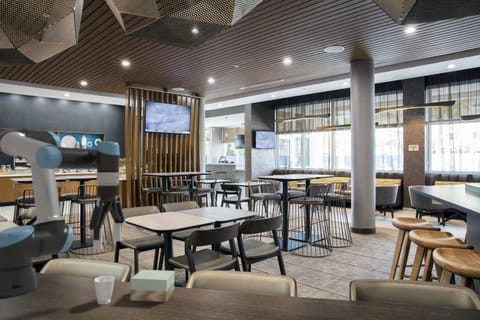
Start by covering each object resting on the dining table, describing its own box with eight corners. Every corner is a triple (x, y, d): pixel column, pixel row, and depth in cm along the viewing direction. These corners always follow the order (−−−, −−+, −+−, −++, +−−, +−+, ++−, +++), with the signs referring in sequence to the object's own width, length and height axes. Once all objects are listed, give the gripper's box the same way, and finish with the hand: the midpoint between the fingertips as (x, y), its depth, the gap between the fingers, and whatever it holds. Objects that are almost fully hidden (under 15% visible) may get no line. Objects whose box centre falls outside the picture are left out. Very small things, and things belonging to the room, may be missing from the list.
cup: (89, 305, 111) (89, 281, 111) (102, 294, 121) (102, 272, 121) (109, 306, 110) (110, 282, 111) (121, 294, 120) (121, 272, 121)
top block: (130, 289, 116) (131, 278, 116) (141, 280, 126) (141, 269, 126) (166, 291, 115) (166, 279, 115) (174, 281, 125) (174, 271, 125)
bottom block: (130, 301, 116) (130, 289, 116) (141, 290, 126) (141, 280, 126) (166, 302, 115) (166, 291, 115) (174, 292, 125) (174, 281, 125)
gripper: (99, 186, 104) (99, 253, 103) (133, 183, 129) (133, 238, 128) (77, 186, 104) (77, 253, 104) (114, 183, 129) (114, 237, 128)
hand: (107, 245), depth 116 cm, fingers open, 13 cm apart
